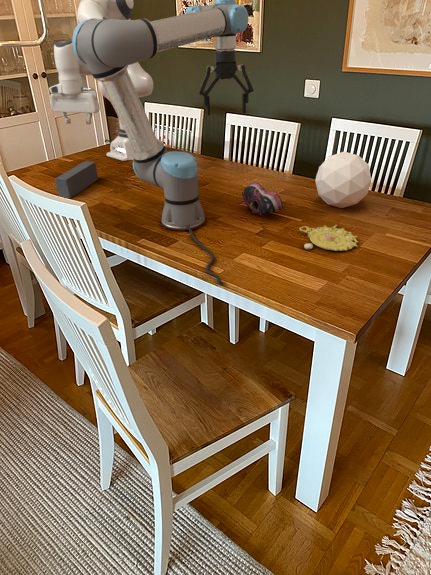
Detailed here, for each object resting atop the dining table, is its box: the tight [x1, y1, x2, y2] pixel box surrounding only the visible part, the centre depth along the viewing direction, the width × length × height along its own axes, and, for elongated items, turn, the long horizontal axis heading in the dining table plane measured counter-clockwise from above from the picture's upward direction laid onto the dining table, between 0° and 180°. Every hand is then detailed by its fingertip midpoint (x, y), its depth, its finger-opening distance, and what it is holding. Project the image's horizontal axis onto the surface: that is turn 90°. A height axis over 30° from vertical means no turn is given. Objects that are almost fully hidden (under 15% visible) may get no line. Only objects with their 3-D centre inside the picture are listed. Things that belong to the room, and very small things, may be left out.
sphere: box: [314, 151, 372, 209], centre depth 160 cm, size 19×20×20 cm
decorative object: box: [299, 224, 359, 252], centre depth 141 cm, size 21×2×20 cm
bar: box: [54, 160, 99, 199], centre depth 187 cm, size 24×5×8 cm, turn 165°
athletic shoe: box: [238, 182, 284, 217], centre depth 160 cm, size 11×22×12 cm
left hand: (78, 123), depth 183 cm, fingers open, 8 cm apart
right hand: (226, 113), depth 167 cm, fingers open, 13 cm apart
